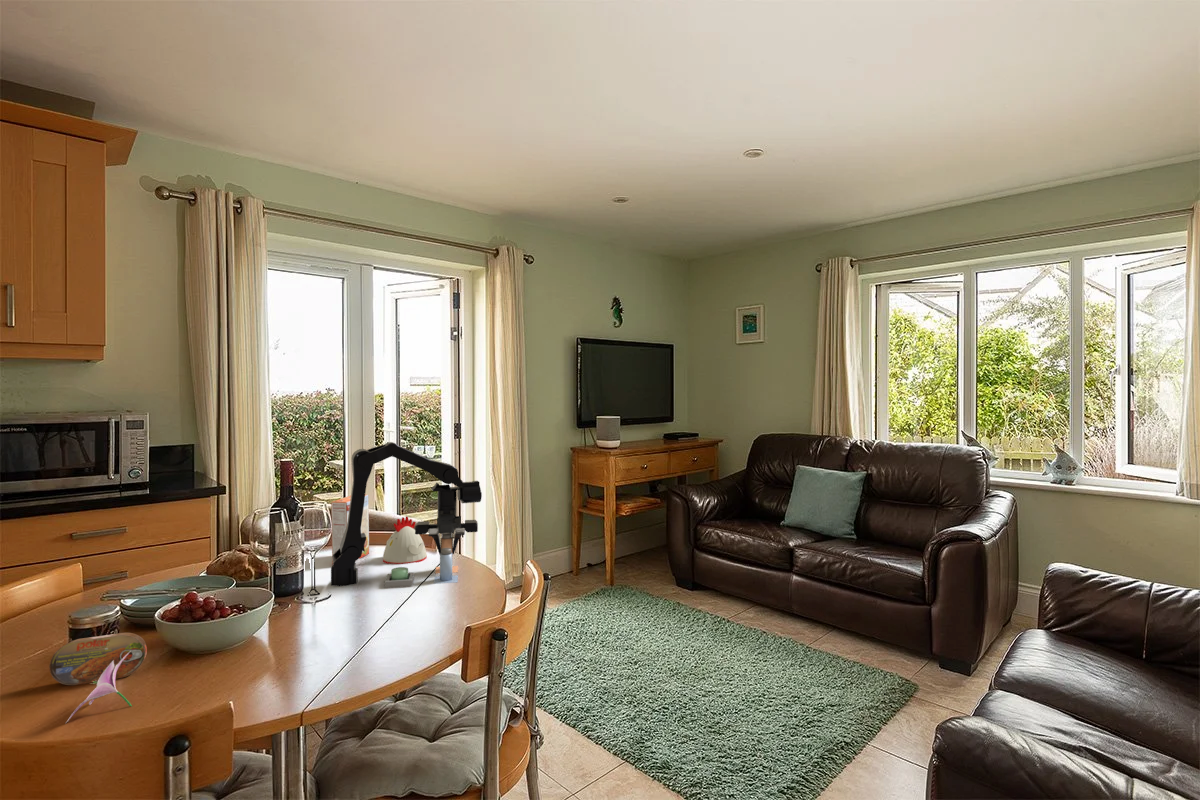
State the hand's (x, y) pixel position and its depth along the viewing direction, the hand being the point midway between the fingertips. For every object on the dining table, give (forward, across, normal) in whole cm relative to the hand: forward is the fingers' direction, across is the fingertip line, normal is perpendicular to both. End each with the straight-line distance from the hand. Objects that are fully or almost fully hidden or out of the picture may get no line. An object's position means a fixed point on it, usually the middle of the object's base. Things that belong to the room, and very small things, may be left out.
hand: (446, 554), depth 191 cm
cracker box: (+6, -32, +22) cm, 39 cm away
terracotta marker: (+2, 0, 0) cm, 2 cm away
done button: (+4, -13, -11) cm, 17 cm away
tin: (+6, -65, -57) cm, 87 cm away
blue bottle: (+5, 0, -10) cm, 11 cm away
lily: (+6, -58, -71) cm, 91 cm away
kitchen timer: (+6, -14, +16) cm, 22 cm away
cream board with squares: (+6, -6, -5) cm, 10 cm away
